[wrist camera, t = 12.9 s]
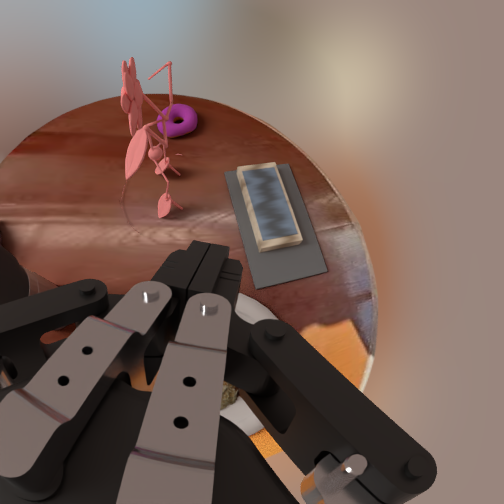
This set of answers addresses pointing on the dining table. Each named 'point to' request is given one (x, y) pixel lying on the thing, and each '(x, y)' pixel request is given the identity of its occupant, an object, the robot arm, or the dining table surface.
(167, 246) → the dining table surface
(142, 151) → the figurine
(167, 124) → the donut
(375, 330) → the dining table surface
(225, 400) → the plated food
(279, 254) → the rubber mat
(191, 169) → the dining table surface
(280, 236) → the birch picture frame
